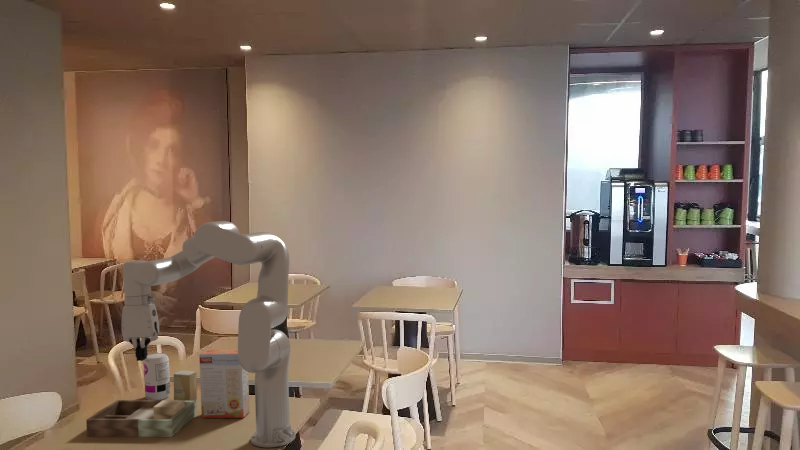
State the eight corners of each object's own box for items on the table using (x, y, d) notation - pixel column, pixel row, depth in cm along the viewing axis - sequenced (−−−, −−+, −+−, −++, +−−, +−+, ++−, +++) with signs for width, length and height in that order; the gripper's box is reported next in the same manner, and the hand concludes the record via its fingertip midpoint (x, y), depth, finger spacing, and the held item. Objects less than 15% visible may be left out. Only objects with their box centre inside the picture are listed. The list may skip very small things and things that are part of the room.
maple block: (184, 412, 187) (184, 400, 187) (176, 420, 181) (175, 407, 181) (163, 412, 188) (162, 400, 188) (153, 419, 182) (153, 406, 182)
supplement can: (143, 402, 206) (142, 359, 206) (147, 395, 214) (145, 353, 214) (168, 400, 209) (167, 357, 208) (171, 392, 217) (169, 351, 216)
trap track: (195, 415, 193) (194, 400, 192) (171, 437, 176) (170, 420, 176) (118, 415, 195) (117, 400, 195) (87, 436, 178) (86, 419, 178)
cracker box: (250, 412, 195) (248, 349, 194) (243, 419, 189) (241, 353, 188) (208, 411, 197) (206, 348, 195) (201, 418, 191) (198, 353, 189)
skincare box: (173, 409, 199) (172, 373, 198) (181, 405, 203) (180, 369, 202) (190, 411, 197) (189, 374, 197) (198, 406, 201) (196, 370, 201)
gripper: (167, 298, 186) (170, 356, 187) (121, 299, 188) (125, 356, 188) (155, 302, 179) (159, 362, 180) (108, 303, 180) (111, 363, 181)
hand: (141, 359), depth 184 cm, fingers closed
